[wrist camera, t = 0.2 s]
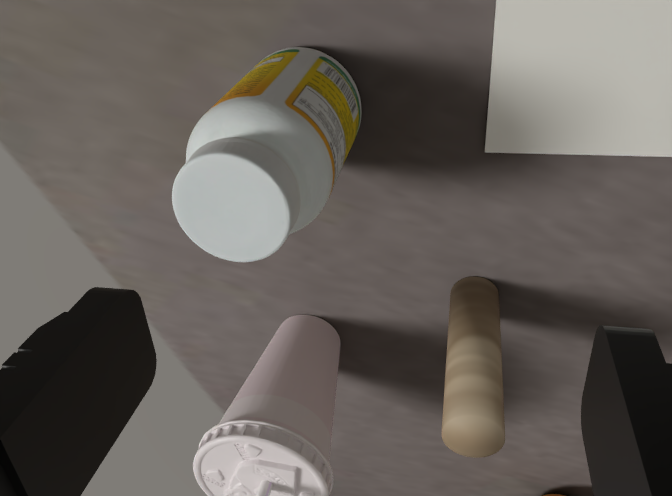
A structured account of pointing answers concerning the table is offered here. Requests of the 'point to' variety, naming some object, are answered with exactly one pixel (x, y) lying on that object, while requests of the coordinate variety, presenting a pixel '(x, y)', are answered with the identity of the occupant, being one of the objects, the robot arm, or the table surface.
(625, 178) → the table surface
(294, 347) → the smoothie
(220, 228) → the supplement bottle
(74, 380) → the robot arm
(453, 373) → the post
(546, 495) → the ball
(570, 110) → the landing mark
